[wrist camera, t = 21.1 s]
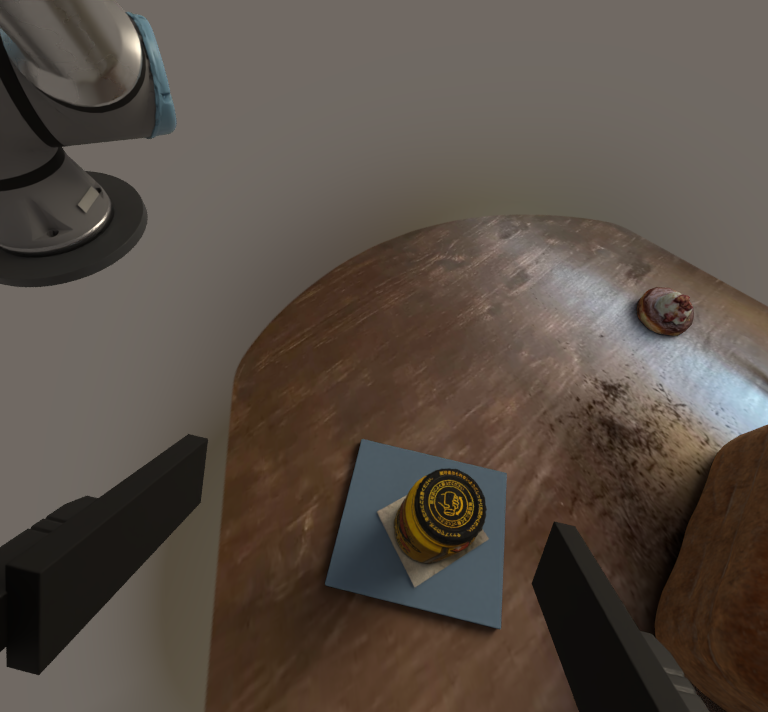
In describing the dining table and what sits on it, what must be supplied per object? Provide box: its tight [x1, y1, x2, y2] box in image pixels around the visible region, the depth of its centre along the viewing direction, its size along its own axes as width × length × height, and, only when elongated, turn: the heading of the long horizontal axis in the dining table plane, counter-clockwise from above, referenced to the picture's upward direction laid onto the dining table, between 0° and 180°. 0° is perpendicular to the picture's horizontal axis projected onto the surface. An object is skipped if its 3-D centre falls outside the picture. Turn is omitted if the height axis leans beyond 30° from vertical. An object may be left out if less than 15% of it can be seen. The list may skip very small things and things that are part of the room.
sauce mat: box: [325, 439, 507, 629], centre depth 38 cm, size 16×14×1 cm
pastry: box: [637, 287, 694, 336], centre depth 55 cm, size 8×8×5 cm
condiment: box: [377, 468, 489, 587], centre depth 33 cm, size 7×8×12 cm
